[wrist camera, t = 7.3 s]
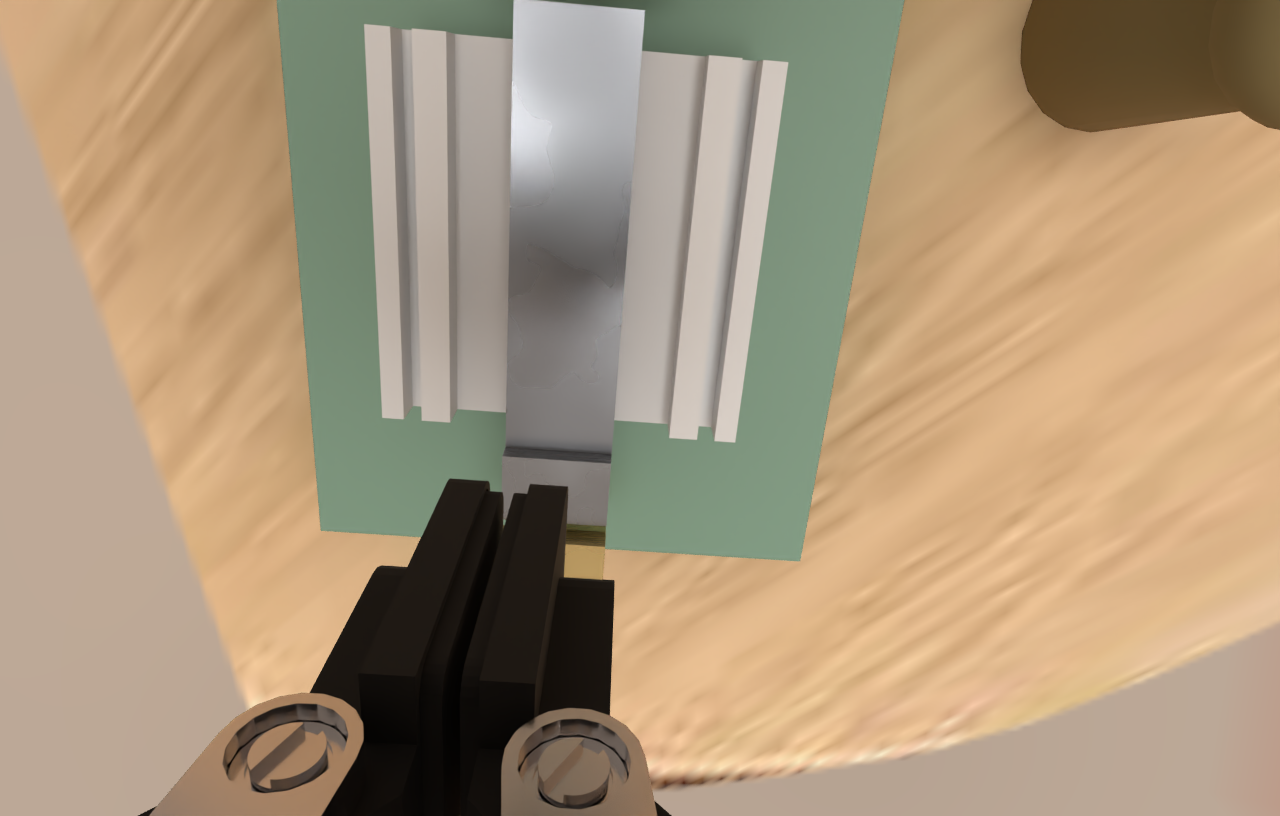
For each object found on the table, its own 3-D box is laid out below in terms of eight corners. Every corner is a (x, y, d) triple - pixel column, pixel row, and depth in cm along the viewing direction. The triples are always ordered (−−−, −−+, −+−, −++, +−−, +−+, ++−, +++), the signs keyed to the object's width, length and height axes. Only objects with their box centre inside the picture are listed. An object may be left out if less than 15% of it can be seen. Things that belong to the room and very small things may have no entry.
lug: (526, 442, 28) (497, 540, 22) (610, 448, 28) (605, 546, 22) (525, 491, 29) (496, 599, 23) (606, 497, 29) (600, 606, 23)
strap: (520, 3, 19) (509, -5, 17) (644, 14, 19) (645, 7, 17) (510, 489, 24) (501, 519, 22) (608, 496, 24) (606, 526, 22)
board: (299, -235, 23) (125, -402, 15) (906, -172, 24) (1043, -301, 16) (347, 492, 32) (255, 624, 24) (785, 521, 33) (834, 658, 25)
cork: (1003, 129, 27) (1229, 156, 17) (1042, -75, 25) (1331, -187, 15) (1177, 134, 27) (1505, 164, 17) (1232, -68, 25) (1650, -175, 15)
